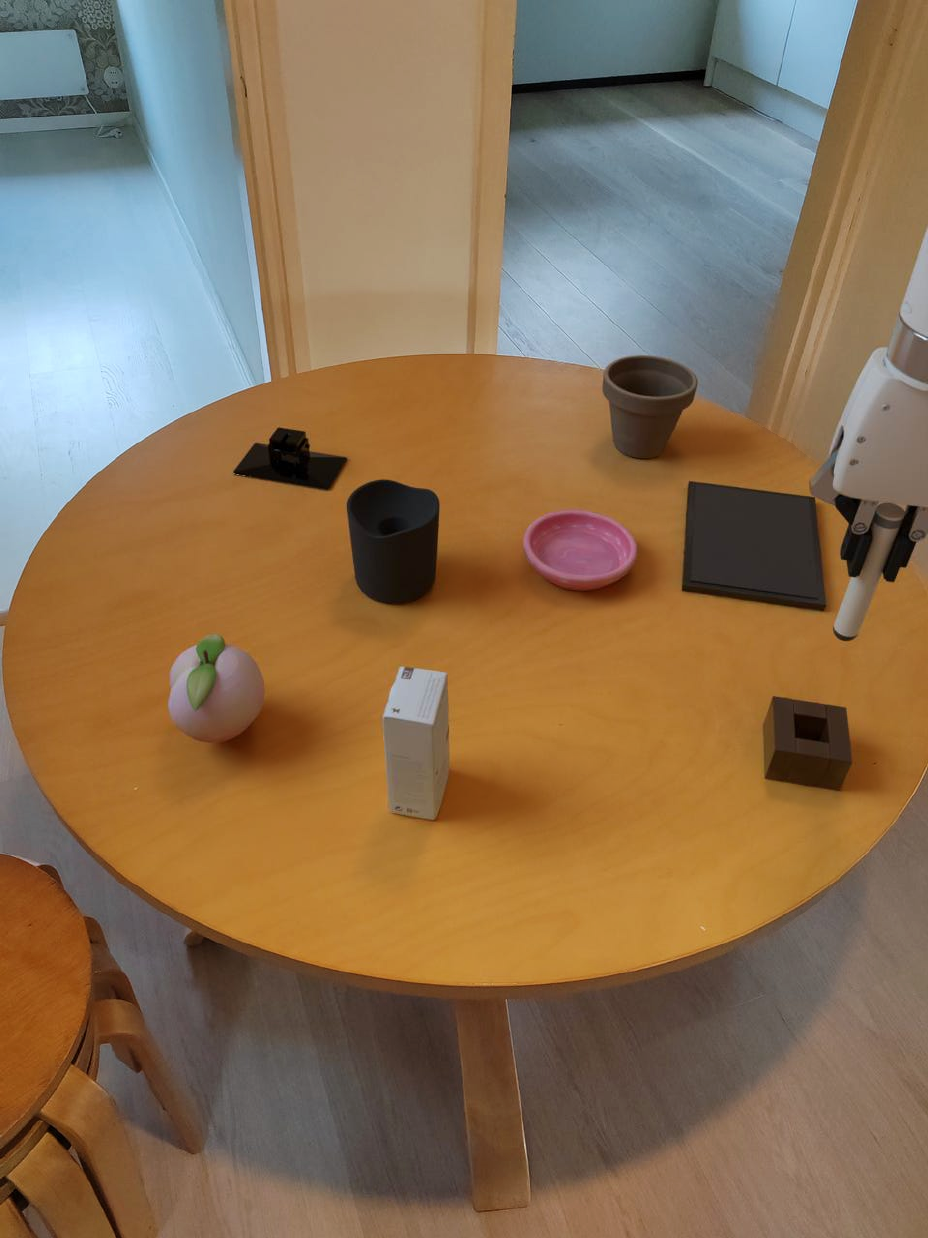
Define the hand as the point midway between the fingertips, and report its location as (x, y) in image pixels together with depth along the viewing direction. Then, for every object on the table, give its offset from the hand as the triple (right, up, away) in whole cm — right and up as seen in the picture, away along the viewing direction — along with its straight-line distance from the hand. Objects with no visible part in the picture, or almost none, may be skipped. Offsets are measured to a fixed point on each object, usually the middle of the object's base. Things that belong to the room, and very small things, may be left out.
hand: (869, 566), depth 76 cm
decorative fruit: (-53, -14, +15) cm, 57 cm away
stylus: (0, -6, +5) cm, 8 cm away
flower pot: (-9, +18, +51) cm, 55 cm away
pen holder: (-39, 0, +31) cm, 49 cm away
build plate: (-53, +15, +46) cm, 72 cm away
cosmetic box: (-35, -19, +10) cm, 41 cm away
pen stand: (-1, -17, +13) cm, 21 cm away
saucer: (-19, +2, +33) cm, 38 cm away
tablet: (+1, +5, +36) cm, 37 cm away
